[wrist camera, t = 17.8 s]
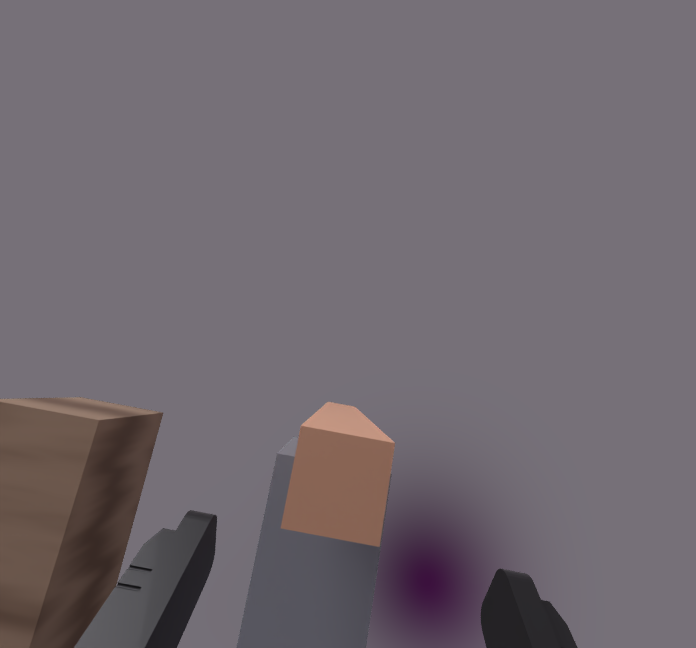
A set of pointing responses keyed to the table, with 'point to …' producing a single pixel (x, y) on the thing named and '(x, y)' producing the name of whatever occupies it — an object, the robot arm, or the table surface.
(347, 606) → the grey stand
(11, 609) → the walnut stand
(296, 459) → the bar
